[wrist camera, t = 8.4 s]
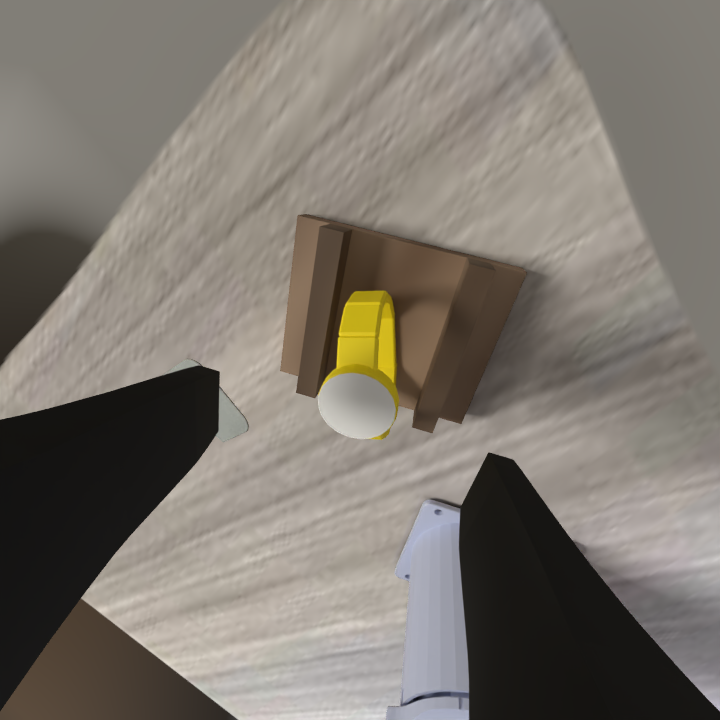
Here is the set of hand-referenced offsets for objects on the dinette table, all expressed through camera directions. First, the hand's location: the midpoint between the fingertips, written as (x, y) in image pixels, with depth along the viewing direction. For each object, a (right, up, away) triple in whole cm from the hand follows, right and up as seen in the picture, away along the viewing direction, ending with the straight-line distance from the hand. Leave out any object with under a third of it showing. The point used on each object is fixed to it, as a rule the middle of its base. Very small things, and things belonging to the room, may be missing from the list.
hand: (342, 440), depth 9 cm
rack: (+2, +4, +8) cm, 9 cm away
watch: (+2, +3, +8) cm, 9 cm away
